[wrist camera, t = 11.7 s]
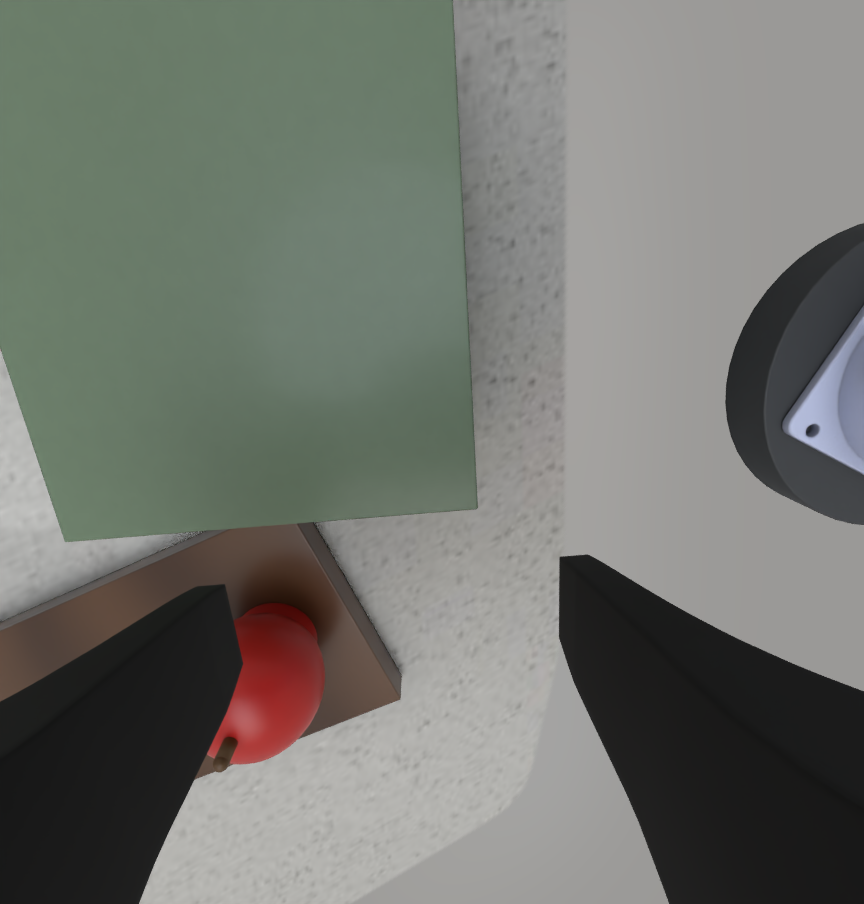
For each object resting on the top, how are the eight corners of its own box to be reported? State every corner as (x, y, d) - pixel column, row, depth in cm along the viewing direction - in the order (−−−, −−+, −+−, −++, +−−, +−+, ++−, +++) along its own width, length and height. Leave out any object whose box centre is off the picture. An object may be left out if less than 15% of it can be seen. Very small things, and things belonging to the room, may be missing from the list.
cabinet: (100, 91, 16) (-147, -87, 9) (434, 67, 16) (446, -127, 9) (188, 465, 19) (64, 542, 13) (457, 443, 20) (478, 509, 13)
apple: (354, 612, 20) (326, 737, 14) (310, 698, 21) (267, 848, 15) (240, 568, 19) (160, 680, 13) (202, 660, 20) (112, 802, 14)
